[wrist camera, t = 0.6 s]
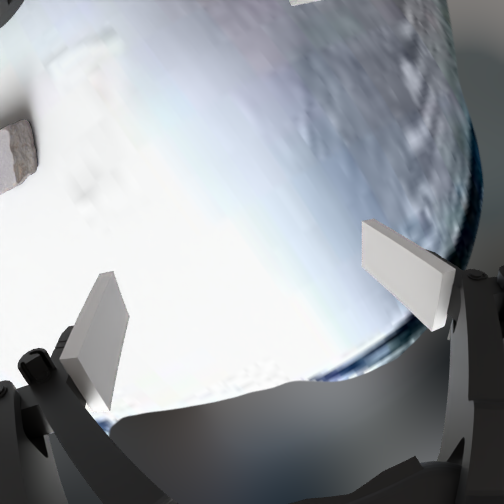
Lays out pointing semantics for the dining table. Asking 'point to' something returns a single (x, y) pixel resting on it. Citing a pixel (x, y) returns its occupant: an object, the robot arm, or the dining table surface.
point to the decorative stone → (16, 154)
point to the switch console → (300, 2)
